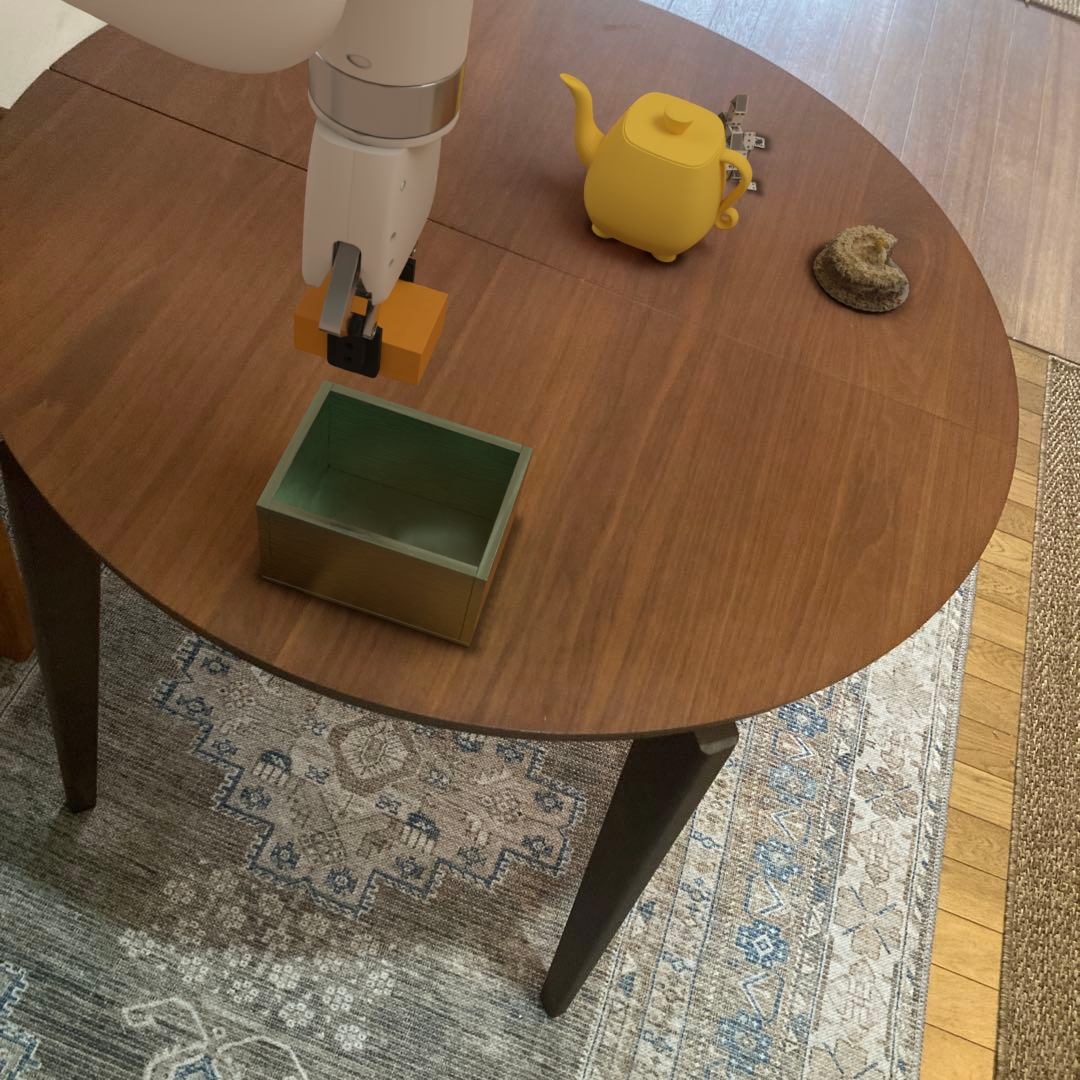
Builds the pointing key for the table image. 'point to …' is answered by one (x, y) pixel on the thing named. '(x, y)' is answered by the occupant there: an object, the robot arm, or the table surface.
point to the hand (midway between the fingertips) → (370, 332)
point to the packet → (405, 321)
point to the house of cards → (738, 134)
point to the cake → (862, 269)
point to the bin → (391, 511)
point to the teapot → (656, 172)
